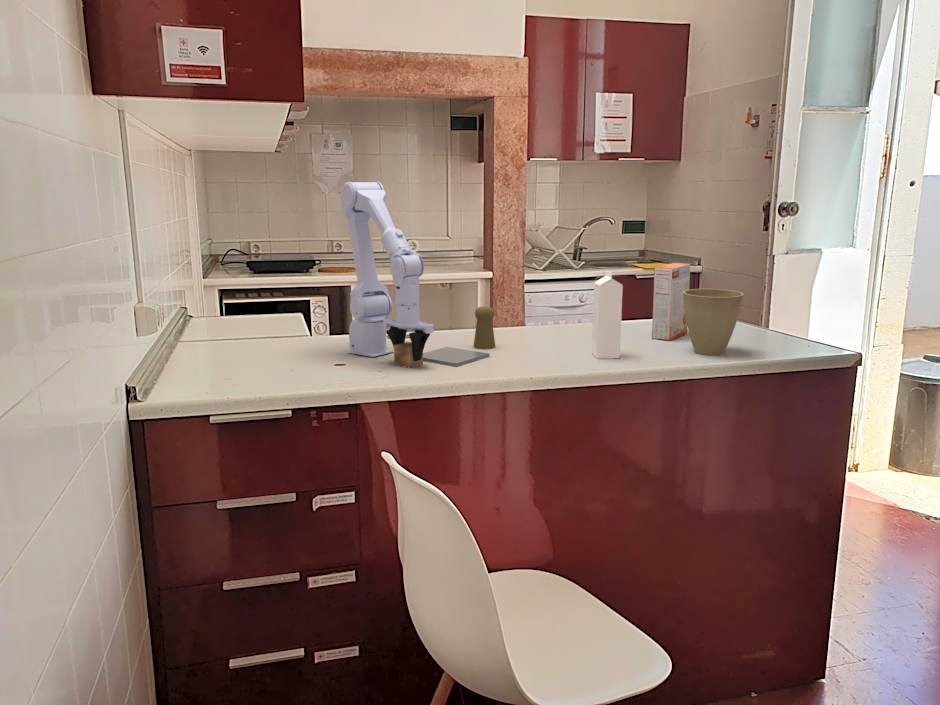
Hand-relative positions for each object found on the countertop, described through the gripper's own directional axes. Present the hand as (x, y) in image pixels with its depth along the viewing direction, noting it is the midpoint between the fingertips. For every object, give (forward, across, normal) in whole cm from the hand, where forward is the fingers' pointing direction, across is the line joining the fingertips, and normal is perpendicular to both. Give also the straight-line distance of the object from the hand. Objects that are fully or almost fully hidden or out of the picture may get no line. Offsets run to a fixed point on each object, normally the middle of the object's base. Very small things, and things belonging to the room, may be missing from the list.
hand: (408, 358), depth 186 cm
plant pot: (+2, +55, +57) cm, 79 cm away
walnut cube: (+1, 0, 0) cm, 1 cm away
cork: (+2, +3, +28) cm, 28 cm away
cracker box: (+2, +38, +72) cm, 81 cm away
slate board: (+1, +4, +12) cm, 13 cm away
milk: (+2, +35, +37) cm, 51 cm away
